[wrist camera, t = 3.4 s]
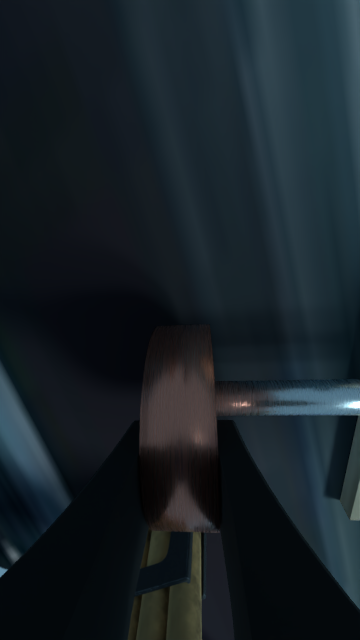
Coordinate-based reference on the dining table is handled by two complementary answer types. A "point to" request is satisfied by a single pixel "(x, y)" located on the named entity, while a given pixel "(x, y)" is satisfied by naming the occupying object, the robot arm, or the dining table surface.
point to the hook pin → (207, 423)
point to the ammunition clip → (170, 587)
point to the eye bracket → (352, 479)
